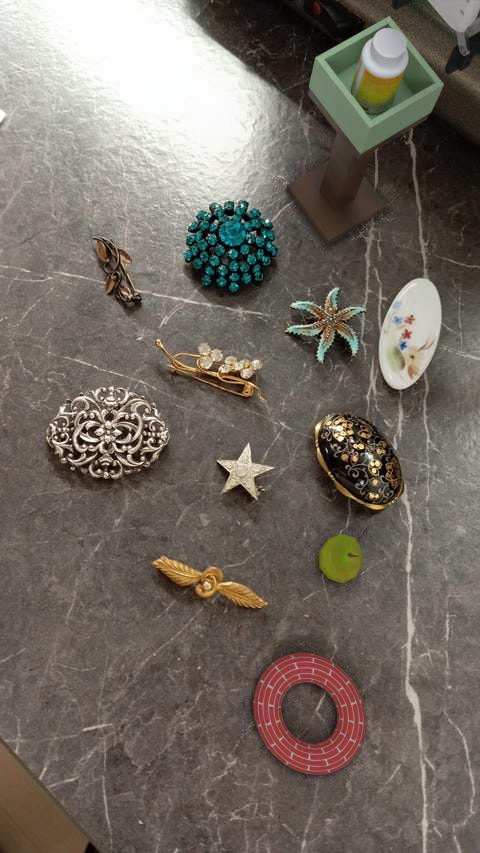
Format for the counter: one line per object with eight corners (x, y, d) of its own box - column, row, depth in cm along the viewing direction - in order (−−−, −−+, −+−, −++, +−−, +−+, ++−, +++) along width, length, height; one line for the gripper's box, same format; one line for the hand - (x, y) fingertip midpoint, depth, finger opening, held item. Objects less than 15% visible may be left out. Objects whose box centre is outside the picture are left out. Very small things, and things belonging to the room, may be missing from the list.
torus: (230, 688, 120) (232, 689, 117) (318, 630, 123) (322, 630, 119) (296, 796, 117) (299, 800, 114) (384, 734, 120) (390, 737, 116)
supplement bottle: (399, 110, 113) (420, 57, 103) (357, 120, 112) (375, 68, 102) (384, 72, 114) (404, 16, 104) (343, 81, 113) (359, 27, 103)
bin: (379, 46, 116) (389, 15, 110) (431, 112, 114) (444, 84, 108) (308, 86, 113) (315, 57, 108) (360, 154, 112) (369, 128, 106)
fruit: (321, 532, 126) (335, 520, 114) (364, 544, 126) (382, 533, 114) (310, 577, 124) (323, 569, 113) (353, 589, 124) (371, 582, 113)
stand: (343, 156, 141) (379, 47, 116) (384, 210, 139) (430, 112, 114) (285, 189, 139) (309, 87, 113) (327, 245, 137) (360, 153, 112)
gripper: (568, -41, 82) (504, 77, 98) (452, -173, 85) (409, -37, 101) (504, -4, 80) (450, 109, 97) (389, -140, 83) (356, -7, 100)
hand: (429, 34), depth 99 cm, fingers open, 9 cm apart
